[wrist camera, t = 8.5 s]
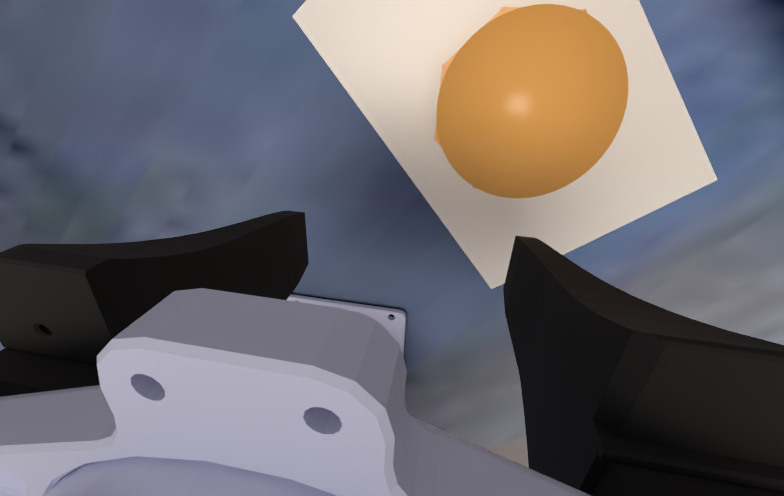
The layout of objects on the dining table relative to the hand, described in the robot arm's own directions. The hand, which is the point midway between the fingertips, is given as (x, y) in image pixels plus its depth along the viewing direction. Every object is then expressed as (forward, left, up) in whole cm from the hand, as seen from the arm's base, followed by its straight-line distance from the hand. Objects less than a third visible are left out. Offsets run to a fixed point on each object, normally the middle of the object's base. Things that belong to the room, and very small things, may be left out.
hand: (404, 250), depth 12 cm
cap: (+3, +4, -8) cm, 10 cm away
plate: (+3, +4, -9) cm, 11 cm away
